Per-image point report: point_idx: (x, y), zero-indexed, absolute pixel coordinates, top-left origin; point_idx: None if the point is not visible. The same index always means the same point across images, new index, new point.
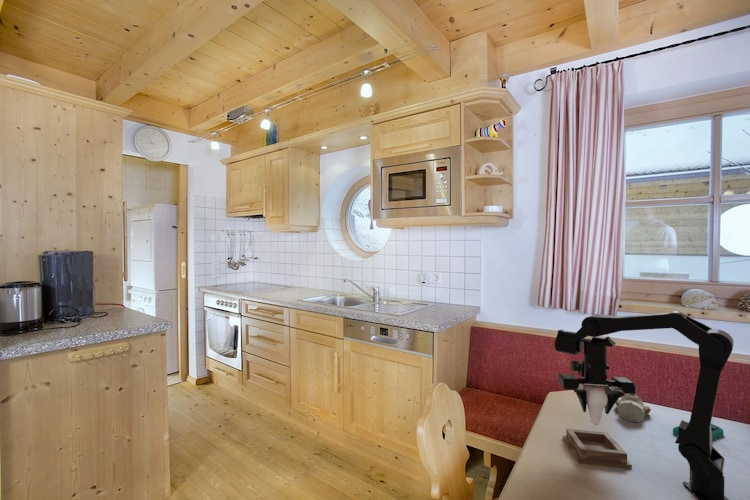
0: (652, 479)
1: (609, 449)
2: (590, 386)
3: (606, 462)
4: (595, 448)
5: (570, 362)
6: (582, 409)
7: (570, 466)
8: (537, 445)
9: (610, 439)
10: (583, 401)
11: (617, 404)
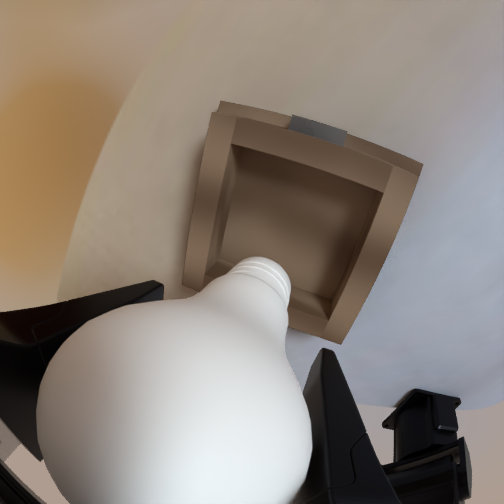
0: (360, 366)
1: (294, 310)
2: (59, 488)
3: None
4: None
5: None
6: (145, 283)
7: (163, 275)
8: (117, 156)
9: (374, 241)
10: None
11: None
